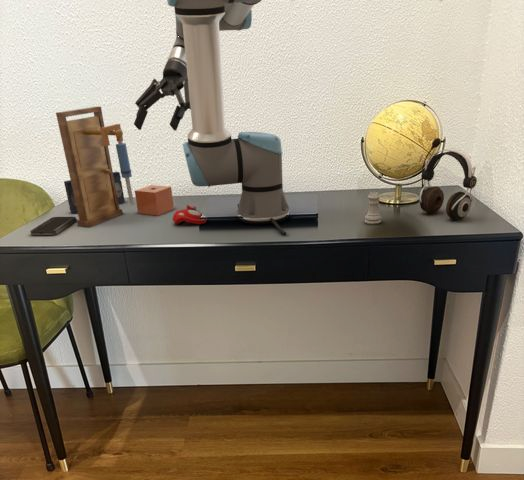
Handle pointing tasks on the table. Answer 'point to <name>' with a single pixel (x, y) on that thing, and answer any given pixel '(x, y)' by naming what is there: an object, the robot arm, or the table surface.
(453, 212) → the headset
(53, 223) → the phone
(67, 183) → the vhs cassette tape
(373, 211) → the rook chess piece
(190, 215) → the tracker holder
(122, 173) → the umbrella
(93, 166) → the door
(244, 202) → the robot arm
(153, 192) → the stand
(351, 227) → the table surface
